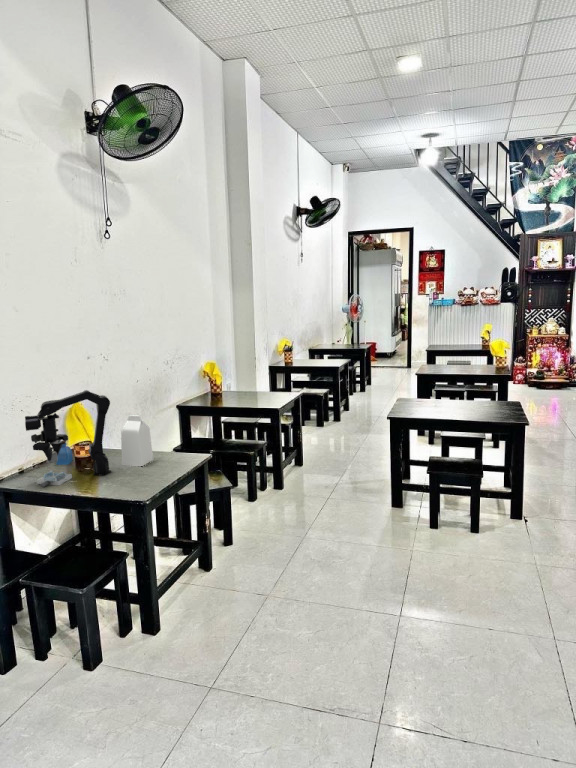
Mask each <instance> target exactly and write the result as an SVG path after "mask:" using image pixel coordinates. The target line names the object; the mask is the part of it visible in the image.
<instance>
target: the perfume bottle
mask: <svg viewBox="0 0 576 768" xmlns="http://www.w3.org/2000/svg"><path fill="white" fill-rule="evenodd" d="M61 442H64V444H63V445H62V447H61V449H60V452H59V454H58V457H57V458H58V462H55V463H56V465H57V466H60V465H61V466H62V465H63V466H64V465H65V466H67V465H69V464H71V463H72V462H73V452H72V451H73V450H72V449H71V448H70V447H69V446H68V445H67V441H63V440H61Z"/></svg>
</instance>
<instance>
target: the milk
mask: <svg viewBox="0 0 576 768" xmlns="http://www.w3.org/2000/svg"><path fill="white" fill-rule="evenodd" d="M126 420H127V421H126V422H125V424H124V425H123V427H122V429H121V432H120V435H121V437H120V438H121V439H120V441H121V442H120V443H121V445H120V446H121V447H120V448H121V466H122V465H130V466H129V467H131V465H132V466H143V465H144V464H146V463H148V462H149V461H151V460H154V454H153V447H152V446H153V445H152V437H151V431H150V427H149V426H148V424H147V423H146V422H144V421H143V419H142V416H141V415H138V414H137V415H136V414H135V415H133V414H129V415H128V417H127V419H126ZM143 467H144V466H143Z"/></svg>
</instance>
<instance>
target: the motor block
mask: <svg viewBox="0 0 576 768" xmlns="http://www.w3.org/2000/svg"><path fill="white" fill-rule="evenodd" d="M72 479H73V475H72V474H71V473H66V472H65V471H61V472H54V471H53V470H50V471H48V472H46V473H44V474H43V476H42V477H40V478H38V479H36V484H37V485H39V486H40V488H43V489H44V488H45V487H46V486H49V485H51V486H61V485H62V484H64V483H66V482H68V481H69V480H72Z"/></svg>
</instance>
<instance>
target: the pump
mask: <svg viewBox="0 0 576 768" xmlns="http://www.w3.org/2000/svg"><path fill="white" fill-rule="evenodd" d="M56 462H58V458H57V452H55V451H53V450H52V457H51V461H48V460H47V463H48V464H54V463H56Z"/></svg>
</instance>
